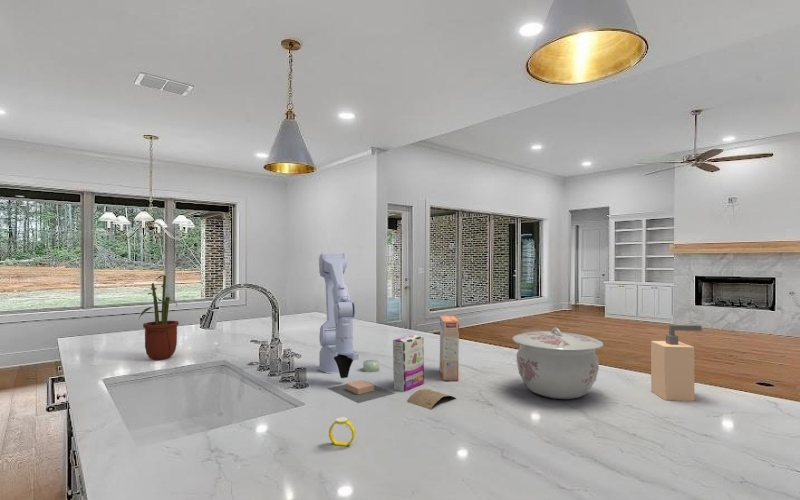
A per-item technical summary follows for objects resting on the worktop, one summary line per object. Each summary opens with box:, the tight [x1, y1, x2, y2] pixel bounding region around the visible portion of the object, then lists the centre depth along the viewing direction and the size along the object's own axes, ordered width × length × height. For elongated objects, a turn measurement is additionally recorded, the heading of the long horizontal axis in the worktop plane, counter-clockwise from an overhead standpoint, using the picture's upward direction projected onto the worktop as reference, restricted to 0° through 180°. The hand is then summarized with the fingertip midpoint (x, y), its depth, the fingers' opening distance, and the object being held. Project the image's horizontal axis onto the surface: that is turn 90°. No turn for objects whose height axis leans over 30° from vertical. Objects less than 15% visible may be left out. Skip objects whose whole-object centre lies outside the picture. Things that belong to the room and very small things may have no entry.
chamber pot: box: [511, 327, 605, 400], centre depth 139 cm, size 28×28×21 cm
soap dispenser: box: [650, 324, 703, 402], centre depth 135 cm, size 13×9×22 cm
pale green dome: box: [362, 359, 380, 373], centre depth 164 cm, size 6×6×4 cm
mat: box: [326, 380, 396, 404], centre depth 139 cm, size 18×14×1 cm
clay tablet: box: [406, 388, 456, 411], centre depth 131 cm, size 14×10×3 cm
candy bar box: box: [392, 334, 425, 393], centre depth 144 cm, size 11×5×16 cm, turn 143°
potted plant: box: [138, 274, 180, 361], centre depth 183 cm, size 17×16×35 cm
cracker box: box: [439, 315, 460, 382], centre depth 158 cm, size 14×6×21 cm, turn 179°
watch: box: [328, 416, 356, 447], centre depth 101 cm, size 6×3×6 cm, turn 79°
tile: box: [345, 379, 375, 395], centre depth 140 cm, size 2×6×7 cm
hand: (344, 377), depth 147 cm, fingers closed
